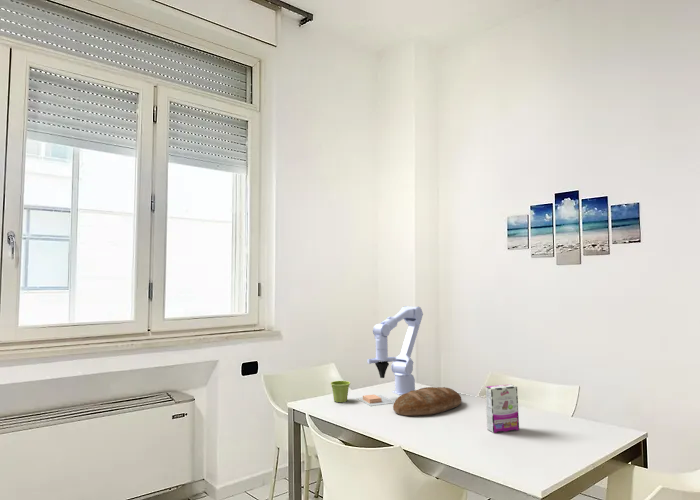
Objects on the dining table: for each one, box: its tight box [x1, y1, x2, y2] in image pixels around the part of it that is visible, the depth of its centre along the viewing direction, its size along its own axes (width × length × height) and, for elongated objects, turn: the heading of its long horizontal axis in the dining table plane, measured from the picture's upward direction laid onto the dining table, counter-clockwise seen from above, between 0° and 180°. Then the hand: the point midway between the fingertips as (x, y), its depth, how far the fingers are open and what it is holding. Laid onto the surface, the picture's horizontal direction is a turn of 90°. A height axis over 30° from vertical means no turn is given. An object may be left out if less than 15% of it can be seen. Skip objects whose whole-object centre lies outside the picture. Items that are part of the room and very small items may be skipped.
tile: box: [362, 394, 382, 403], centre depth 238 cm, size 2×8×6 cm
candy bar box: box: [484, 383, 520, 434], centre depth 192 cm, size 11×5×16 cm, turn 105°
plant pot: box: [330, 380, 351, 403], centre depth 240 cm, size 9×9×9 cm
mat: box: [356, 394, 395, 407], centre depth 239 cm, size 13×16×1 cm
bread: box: [392, 386, 463, 417], centre depth 226 cm, size 22×37×8 cm, turn 131°
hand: (382, 377), depth 244 cm, fingers closed
